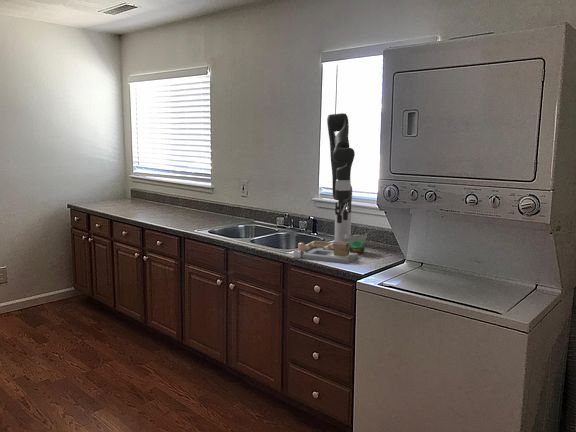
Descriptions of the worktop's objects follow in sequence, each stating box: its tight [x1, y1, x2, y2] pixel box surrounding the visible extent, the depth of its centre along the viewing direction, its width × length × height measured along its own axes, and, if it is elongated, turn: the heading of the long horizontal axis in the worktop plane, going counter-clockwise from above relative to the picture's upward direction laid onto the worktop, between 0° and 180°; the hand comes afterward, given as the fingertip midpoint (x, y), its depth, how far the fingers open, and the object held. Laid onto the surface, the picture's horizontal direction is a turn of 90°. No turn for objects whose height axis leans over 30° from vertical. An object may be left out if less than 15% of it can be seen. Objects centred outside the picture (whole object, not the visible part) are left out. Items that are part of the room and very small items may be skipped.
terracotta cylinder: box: [297, 242, 305, 256], centre depth 265 cm, size 3×3×6 cm
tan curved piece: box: [304, 240, 335, 252], centre depth 276 cm, size 14×12×3 cm
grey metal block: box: [293, 249, 302, 259], centre depth 260 cm, size 4×4×4 cm
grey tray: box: [302, 248, 359, 264], centre depth 258 cm, size 15×24×2 cm, turn 64°
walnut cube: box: [333, 241, 349, 256], centre depth 255 cm, size 6×6×6 cm
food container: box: [344, 232, 368, 255], centre depth 268 cm, size 12×6×10 cm, turn 103°
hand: (342, 221), depth 253 cm, fingers open, 8 cm apart
